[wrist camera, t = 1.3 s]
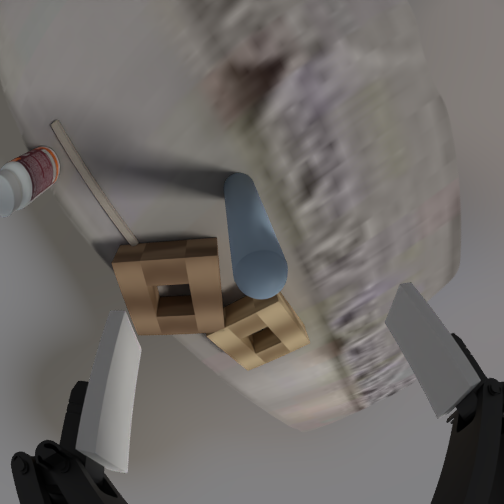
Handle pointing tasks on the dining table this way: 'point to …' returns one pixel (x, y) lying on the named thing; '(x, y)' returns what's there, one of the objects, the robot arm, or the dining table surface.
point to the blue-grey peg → (252, 241)
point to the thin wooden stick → (92, 183)
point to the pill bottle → (27, 178)
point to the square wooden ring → (171, 273)
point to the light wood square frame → (266, 341)
